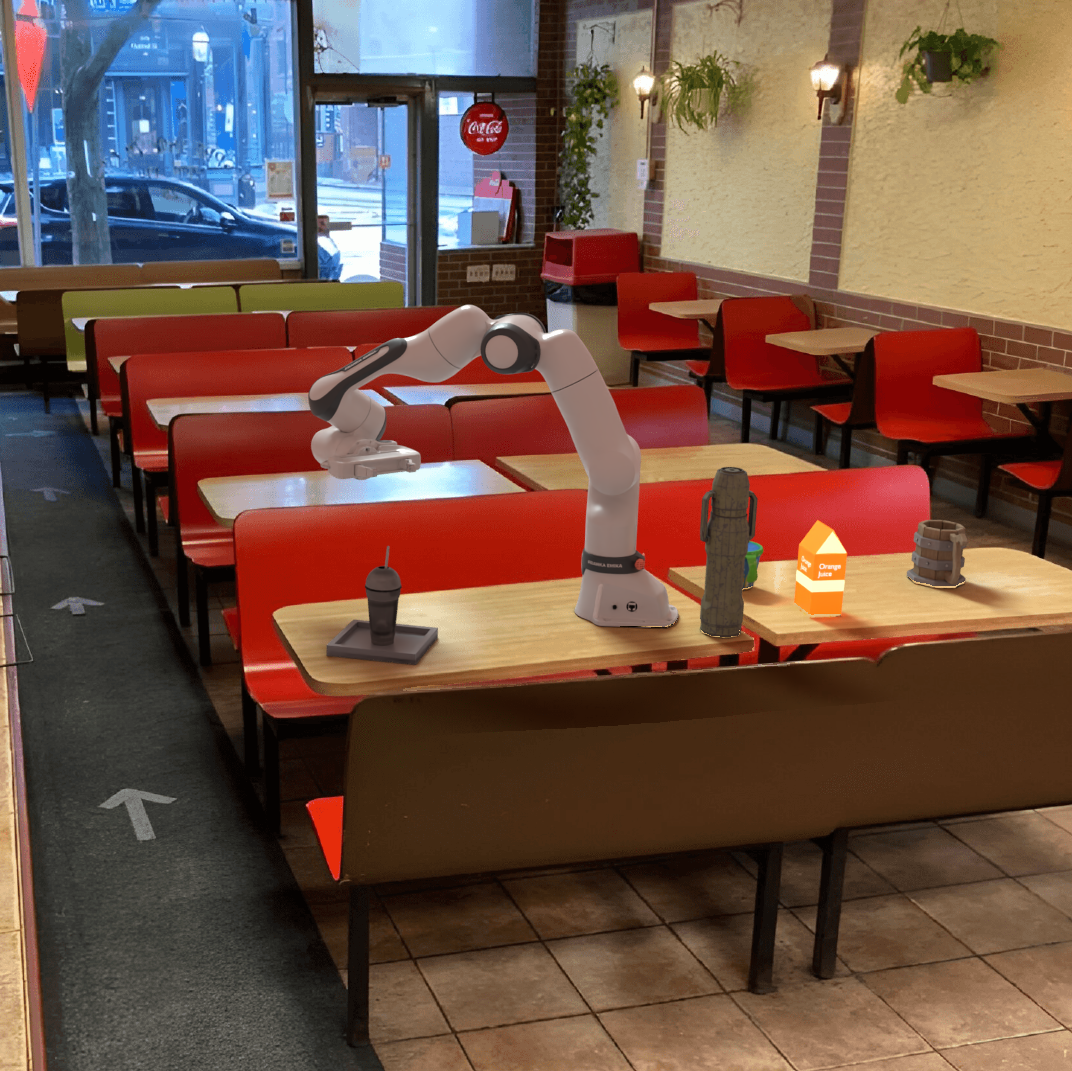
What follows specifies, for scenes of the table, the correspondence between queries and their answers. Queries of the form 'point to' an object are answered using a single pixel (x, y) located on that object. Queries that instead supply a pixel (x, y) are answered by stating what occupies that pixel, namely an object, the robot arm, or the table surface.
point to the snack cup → (751, 564)
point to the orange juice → (820, 571)
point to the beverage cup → (383, 602)
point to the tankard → (938, 553)
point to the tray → (404, 650)
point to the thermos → (726, 550)
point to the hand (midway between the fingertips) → (394, 470)
